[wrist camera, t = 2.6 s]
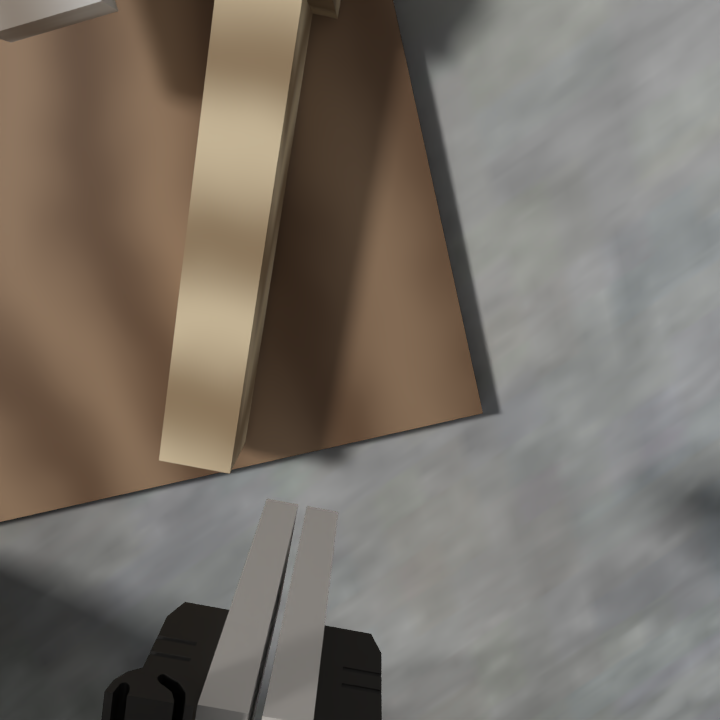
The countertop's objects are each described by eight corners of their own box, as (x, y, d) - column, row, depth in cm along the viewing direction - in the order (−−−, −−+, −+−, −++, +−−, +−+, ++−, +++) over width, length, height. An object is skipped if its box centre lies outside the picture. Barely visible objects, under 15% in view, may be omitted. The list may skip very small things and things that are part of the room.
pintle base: (322, -318, 25) (301, -492, 19) (479, 406, 33) (505, 467, 26) (-323, -105, 28) (-547, -192, 21) (-41, 523, 35) (-141, 607, 29)
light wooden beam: (230, -153, 26) (207, -201, 22) (361, -125, 26) (358, -169, 23) (160, 425, 32) (134, 456, 29) (266, 445, 32) (253, 477, 29)
